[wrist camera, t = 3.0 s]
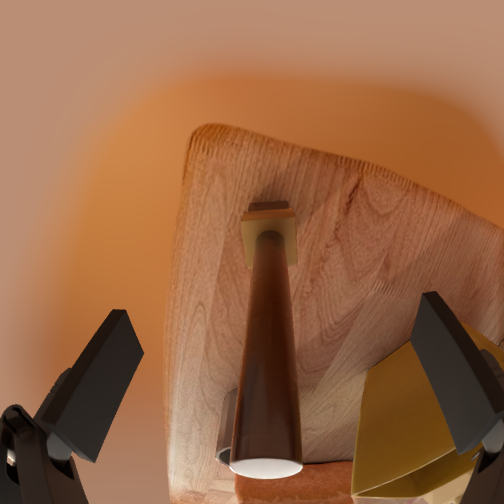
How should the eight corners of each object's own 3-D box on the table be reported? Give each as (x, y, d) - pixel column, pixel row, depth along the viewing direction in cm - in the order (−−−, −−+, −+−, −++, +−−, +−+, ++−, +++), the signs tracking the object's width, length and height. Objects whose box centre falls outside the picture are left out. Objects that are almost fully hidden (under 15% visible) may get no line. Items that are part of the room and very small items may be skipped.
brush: (251, 241, 25) (214, 483, 7) (246, 201, 23) (182, 440, 5) (292, 238, 25) (325, 482, 6) (290, 197, 23) (342, 439, 5)
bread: (345, 475, 50) (350, 525, 36) (238, 478, 51) (232, 530, 38) (360, 455, 44) (369, 515, 30) (234, 460, 46) (227, 523, 32)
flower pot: (328, 374, 32) (346, 498, 17) (453, 275, 25) (537, 384, 10) (395, 414, 37) (416, 498, 21) (488, 345, 30) (534, 424, 15)
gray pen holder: (212, 407, 36) (203, 459, 28) (245, 376, 33) (239, 438, 24) (267, 426, 38) (265, 475, 30) (305, 398, 34) (309, 455, 26)
